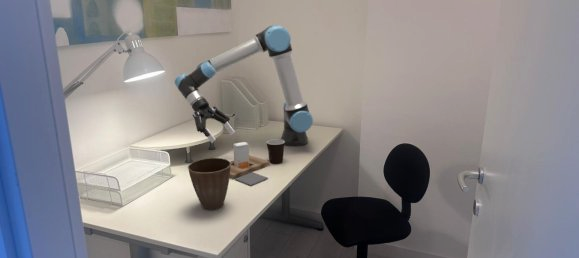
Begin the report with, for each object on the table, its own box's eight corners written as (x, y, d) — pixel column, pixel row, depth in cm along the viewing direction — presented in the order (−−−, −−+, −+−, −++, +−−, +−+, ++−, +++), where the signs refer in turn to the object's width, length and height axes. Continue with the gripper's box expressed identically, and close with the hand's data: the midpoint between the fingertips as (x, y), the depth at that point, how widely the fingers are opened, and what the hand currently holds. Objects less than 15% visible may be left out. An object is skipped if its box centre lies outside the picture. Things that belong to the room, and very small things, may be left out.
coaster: (252, 173, 171) (252, 172, 170) (268, 179, 164) (268, 177, 164) (235, 180, 163) (234, 178, 163) (250, 186, 157) (250, 184, 157)
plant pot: (195, 218, 131) (191, 175, 127) (188, 201, 144) (184, 161, 140) (237, 210, 137) (235, 168, 133) (227, 194, 150) (224, 155, 146)
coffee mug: (282, 165, 180) (282, 145, 177) (265, 164, 182) (264, 144, 179) (287, 157, 191) (287, 137, 188) (271, 156, 192) (270, 137, 190)
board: (249, 158, 189) (249, 155, 188) (269, 165, 180) (269, 161, 179) (213, 171, 173) (213, 167, 173) (233, 179, 164) (233, 175, 164)
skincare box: (237, 171, 173) (236, 146, 170) (234, 168, 177) (232, 143, 174) (249, 168, 176) (248, 144, 173) (246, 165, 180) (245, 141, 176)
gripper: (212, 102, 193) (236, 135, 190) (174, 112, 173) (200, 149, 169) (219, 93, 189) (244, 126, 186) (181, 102, 169) (208, 139, 165)
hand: (223, 137), depth 178 cm, fingers open, 13 cm apart
